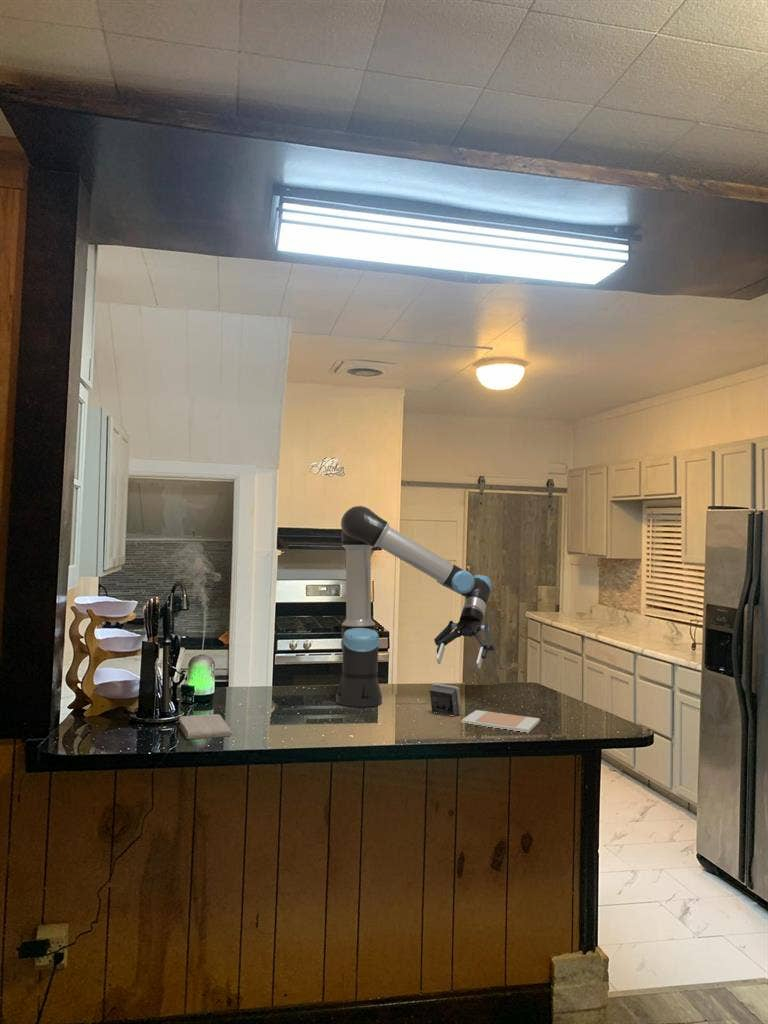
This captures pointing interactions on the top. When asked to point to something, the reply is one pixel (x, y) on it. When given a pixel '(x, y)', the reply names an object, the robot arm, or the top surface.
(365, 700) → the robot arm
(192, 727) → the washcloth
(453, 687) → the electrical switch
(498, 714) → the mounting plate
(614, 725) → the top surface
